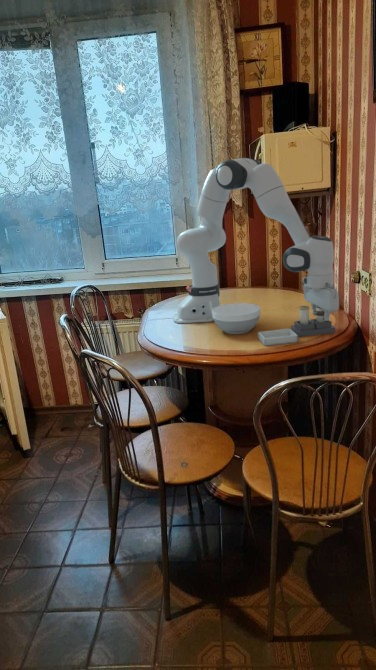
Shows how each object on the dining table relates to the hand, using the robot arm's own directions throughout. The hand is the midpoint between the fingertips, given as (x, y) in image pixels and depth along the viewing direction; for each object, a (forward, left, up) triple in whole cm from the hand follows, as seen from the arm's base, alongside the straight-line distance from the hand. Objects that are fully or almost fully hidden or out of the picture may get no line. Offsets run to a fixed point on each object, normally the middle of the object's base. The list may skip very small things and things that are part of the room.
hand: (320, 317), depth 174 cm
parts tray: (-18, -5, -5) cm, 20 cm away
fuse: (-6, 0, -3) cm, 7 cm away
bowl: (-29, +13, -5) cm, 32 cm away
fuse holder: (-3, 0, -5) cm, 6 cm away
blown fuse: (0, 0, -3) cm, 3 cm away
